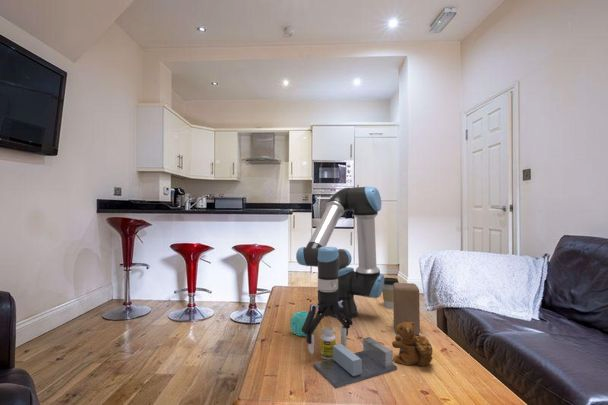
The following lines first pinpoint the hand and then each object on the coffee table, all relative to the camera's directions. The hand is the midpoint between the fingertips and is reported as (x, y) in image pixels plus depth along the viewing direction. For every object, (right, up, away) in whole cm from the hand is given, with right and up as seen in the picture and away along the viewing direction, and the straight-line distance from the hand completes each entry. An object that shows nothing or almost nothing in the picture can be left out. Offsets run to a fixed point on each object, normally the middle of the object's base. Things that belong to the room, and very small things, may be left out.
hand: (327, 348), depth 109 cm
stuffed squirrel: (+30, -3, -4) cm, 30 cm away
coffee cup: (+39, -5, +57) cm, 69 cm away
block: (+37, -4, +24) cm, 44 cm away
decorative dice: (-9, -4, +21) cm, 23 cm away
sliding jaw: (+6, -1, -9) cm, 11 cm away
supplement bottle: (0, -3, 0) cm, 3 cm away
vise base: (+9, -3, -8) cm, 12 cm away
